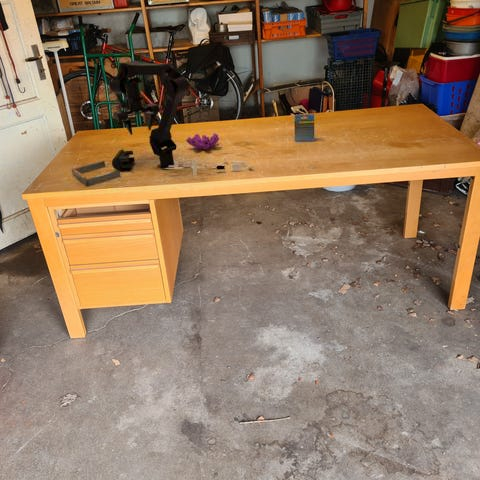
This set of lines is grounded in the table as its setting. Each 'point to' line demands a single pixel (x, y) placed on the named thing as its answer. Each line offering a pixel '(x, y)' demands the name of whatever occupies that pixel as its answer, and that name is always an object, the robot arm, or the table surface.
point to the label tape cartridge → (304, 128)
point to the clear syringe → (235, 166)
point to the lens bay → (97, 179)
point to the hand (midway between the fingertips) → (140, 132)
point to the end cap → (123, 161)
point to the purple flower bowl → (203, 141)
